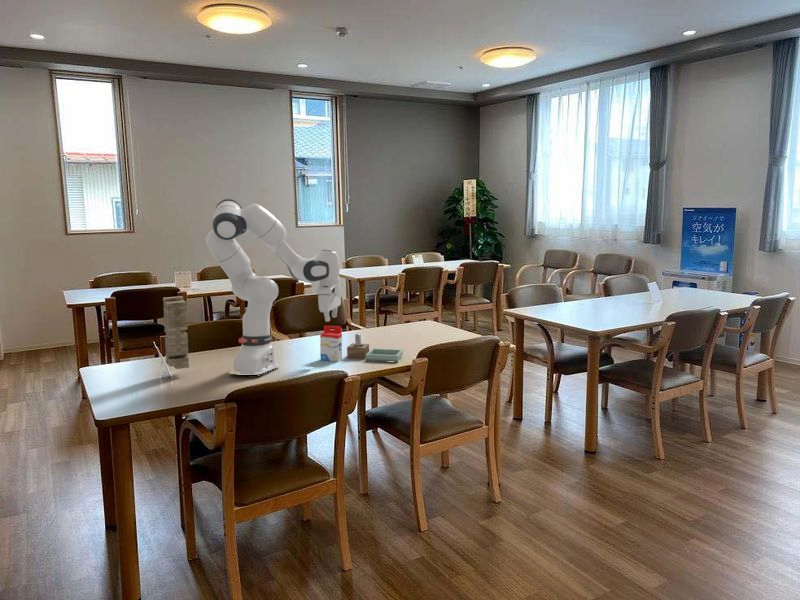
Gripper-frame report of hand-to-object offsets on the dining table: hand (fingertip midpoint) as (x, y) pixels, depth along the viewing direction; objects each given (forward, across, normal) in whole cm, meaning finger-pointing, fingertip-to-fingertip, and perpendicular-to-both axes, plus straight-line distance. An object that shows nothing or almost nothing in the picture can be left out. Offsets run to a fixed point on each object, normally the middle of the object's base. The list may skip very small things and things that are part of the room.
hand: (331, 319), depth 261 cm
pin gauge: (+18, -8, +10) cm, 22 cm away
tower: (+17, +24, -59) cm, 66 cm away
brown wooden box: (+18, -8, +10) cm, 22 cm away
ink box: (+18, 0, 0) cm, 18 cm away
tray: (+18, -6, +22) cm, 29 cm away
